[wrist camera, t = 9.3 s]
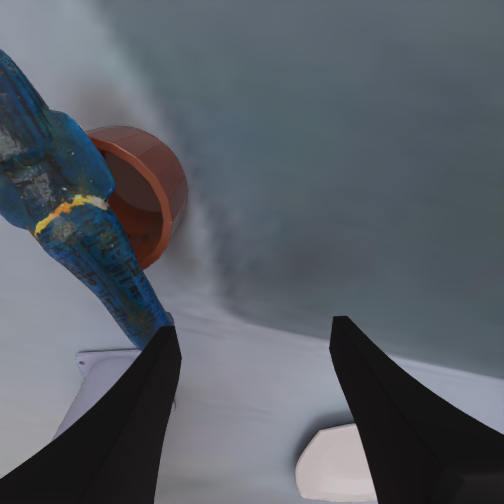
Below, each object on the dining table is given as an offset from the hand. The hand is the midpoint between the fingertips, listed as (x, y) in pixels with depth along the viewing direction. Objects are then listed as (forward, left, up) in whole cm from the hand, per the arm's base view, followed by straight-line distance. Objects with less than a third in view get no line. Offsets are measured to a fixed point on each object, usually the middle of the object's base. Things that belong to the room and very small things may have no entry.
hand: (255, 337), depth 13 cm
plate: (-32, -14, -9) cm, 36 cm away
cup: (+4, +8, -10) cm, 14 cm away
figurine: (+4, +8, -5) cm, 10 cm away
